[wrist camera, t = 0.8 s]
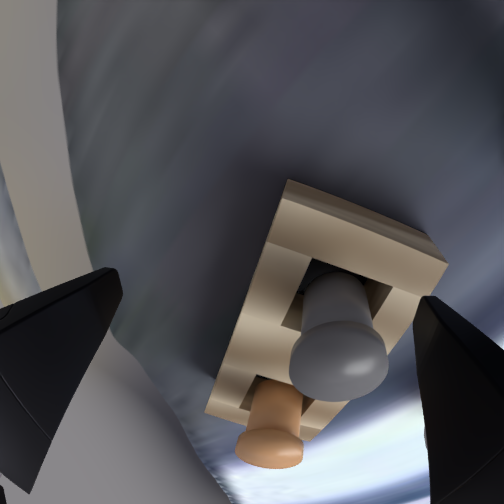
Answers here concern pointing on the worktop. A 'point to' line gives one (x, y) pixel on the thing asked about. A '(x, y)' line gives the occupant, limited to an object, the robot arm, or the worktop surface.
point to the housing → (291, 303)
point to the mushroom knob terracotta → (273, 427)
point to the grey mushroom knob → (337, 342)
